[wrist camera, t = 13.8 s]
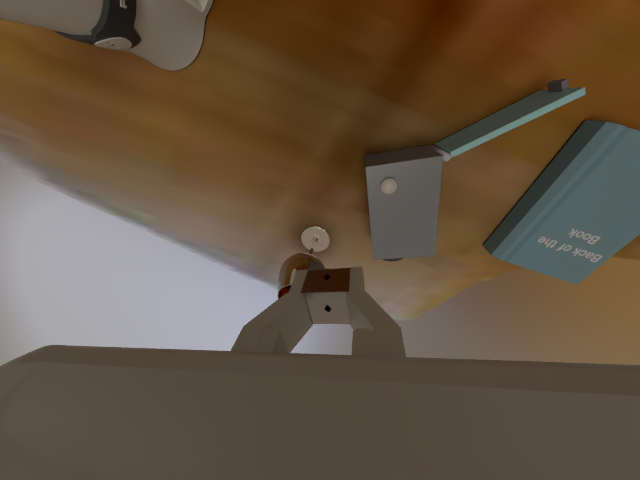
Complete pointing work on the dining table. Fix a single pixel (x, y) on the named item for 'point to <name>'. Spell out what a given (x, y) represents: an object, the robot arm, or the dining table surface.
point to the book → (577, 206)
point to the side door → (508, 118)
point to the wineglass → (303, 258)
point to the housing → (404, 202)
